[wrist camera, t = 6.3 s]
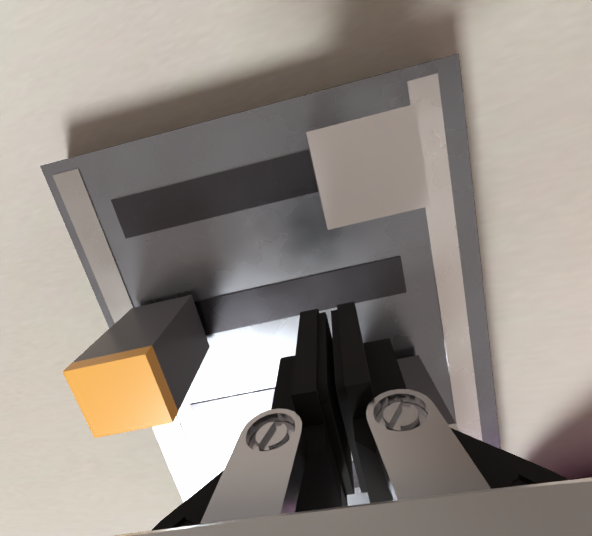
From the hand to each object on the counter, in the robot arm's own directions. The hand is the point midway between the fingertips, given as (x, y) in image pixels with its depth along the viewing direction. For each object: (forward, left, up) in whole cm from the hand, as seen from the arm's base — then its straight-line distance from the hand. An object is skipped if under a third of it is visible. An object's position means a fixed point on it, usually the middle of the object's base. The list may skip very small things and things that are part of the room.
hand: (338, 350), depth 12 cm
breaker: (-2, -5, -6) cm, 8 cm away
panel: (+2, +4, -9) cm, 10 cm away
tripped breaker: (+8, +1, -6) cm, 10 cm away
